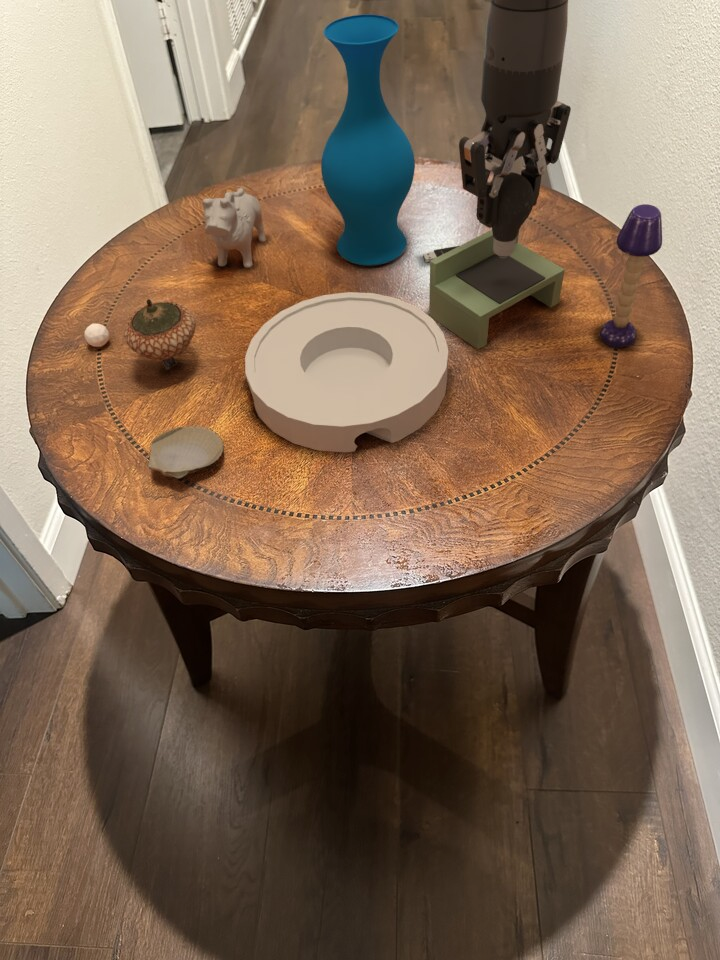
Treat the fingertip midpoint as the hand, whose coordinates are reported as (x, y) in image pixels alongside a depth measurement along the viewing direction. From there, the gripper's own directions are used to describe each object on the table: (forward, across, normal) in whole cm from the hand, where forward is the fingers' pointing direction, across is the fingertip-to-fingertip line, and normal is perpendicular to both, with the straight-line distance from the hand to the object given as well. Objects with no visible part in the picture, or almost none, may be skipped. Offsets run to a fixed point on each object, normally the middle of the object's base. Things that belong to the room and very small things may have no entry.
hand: (507, 213), depth 84 cm
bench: (+14, 0, +1) cm, 14 cm away
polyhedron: (+14, -42, +28) cm, 52 cm away
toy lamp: (+14, +7, -13) cm, 20 cm away
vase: (+14, -3, +22) cm, 26 cm away
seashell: (+14, -43, +3) cm, 45 cm away
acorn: (+14, -37, +18) cm, 43 cm away
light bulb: (+6, 0, 0) cm, 6 cm away
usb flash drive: (+14, +4, +13) cm, 19 cm away
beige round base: (+14, -22, +2) cm, 26 cm away
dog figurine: (+14, -18, +33) cm, 40 cm away
